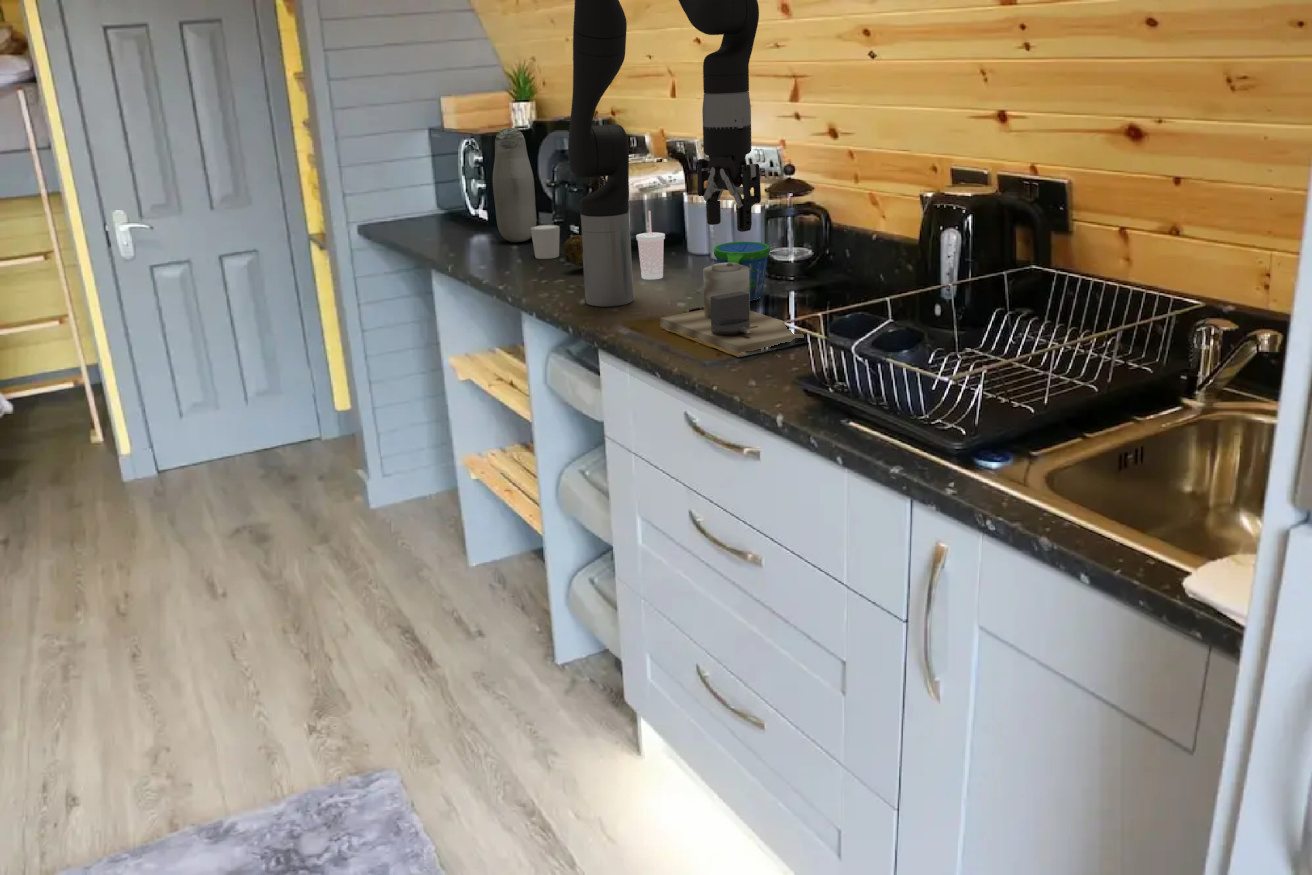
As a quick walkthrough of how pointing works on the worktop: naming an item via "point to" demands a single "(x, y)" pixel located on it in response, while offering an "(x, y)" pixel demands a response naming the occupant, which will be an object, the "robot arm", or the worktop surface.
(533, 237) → the white tapered cup
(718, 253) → the snack cup
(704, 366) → the worktop surface
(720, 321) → the dark grey rotary knob
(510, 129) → the grey bottle
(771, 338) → the base
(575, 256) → the potato
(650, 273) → the beverage cup
